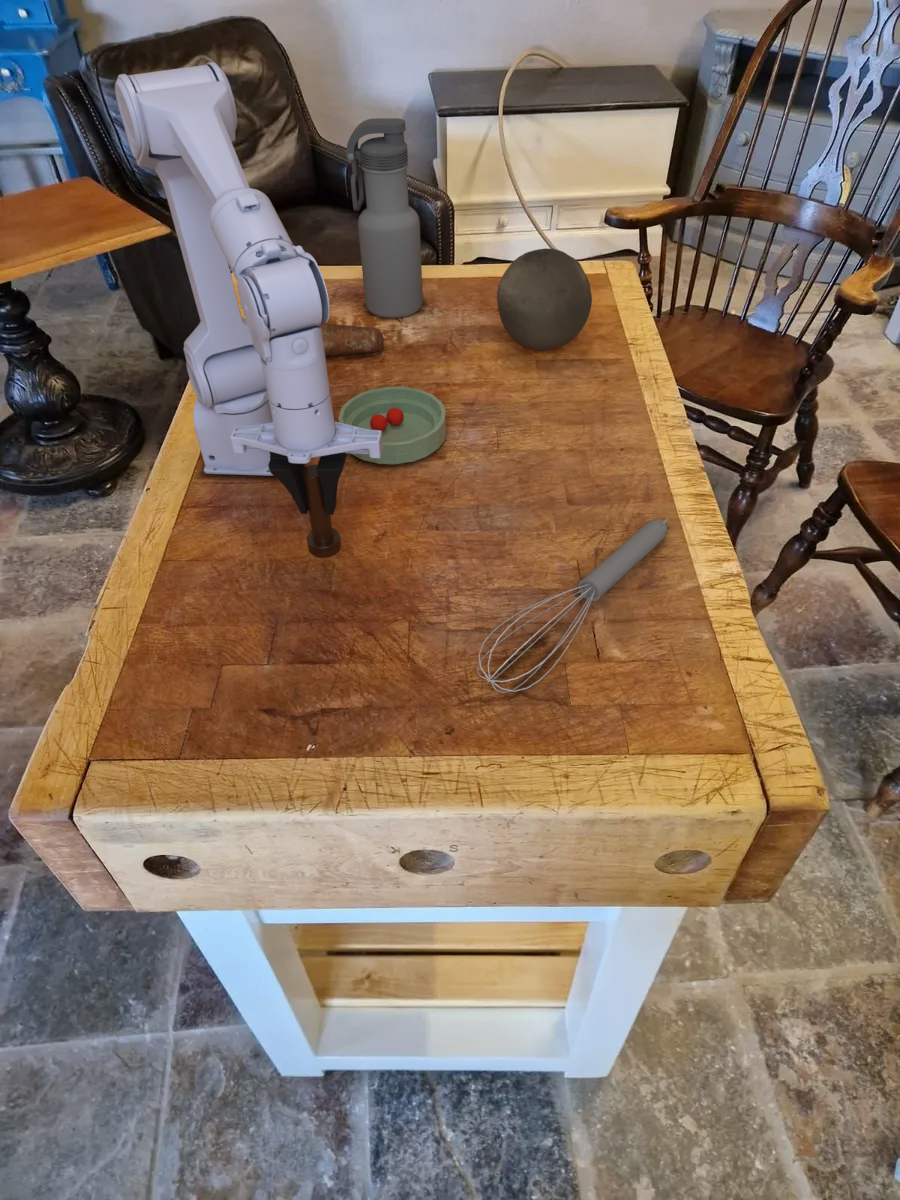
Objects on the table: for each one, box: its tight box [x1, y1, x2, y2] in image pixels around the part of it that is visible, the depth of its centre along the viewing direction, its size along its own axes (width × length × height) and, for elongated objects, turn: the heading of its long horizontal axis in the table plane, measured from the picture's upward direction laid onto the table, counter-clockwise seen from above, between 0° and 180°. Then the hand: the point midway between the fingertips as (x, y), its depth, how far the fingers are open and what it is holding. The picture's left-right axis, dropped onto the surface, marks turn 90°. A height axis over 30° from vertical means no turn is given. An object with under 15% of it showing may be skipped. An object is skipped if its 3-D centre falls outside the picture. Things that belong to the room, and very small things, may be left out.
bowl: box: [337, 386, 447, 465], centre depth 107 cm, size 14×14×4 cm
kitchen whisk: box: [476, 516, 671, 694], centre depth 83 cm, size 6×34×6 cm, turn 140°
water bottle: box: [346, 117, 424, 319], centre depth 126 cm, size 10×10×28 cm
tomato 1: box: [370, 414, 388, 432], centre depth 108 cm, size 2×2×2 cm
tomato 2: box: [386, 408, 404, 426], centre depth 109 cm, size 2×2×2 cm
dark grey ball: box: [496, 247, 593, 353], centre depth 120 cm, size 14×14×15 cm
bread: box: [320, 322, 385, 357], centre depth 123 cm, size 6×19×6 cm, turn 91°
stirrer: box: [302, 464, 342, 559], centre depth 84 cm, size 4×4×10 cm
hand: (318, 508), depth 84 cm, fingers closed on stirrer, 2 cm apart
